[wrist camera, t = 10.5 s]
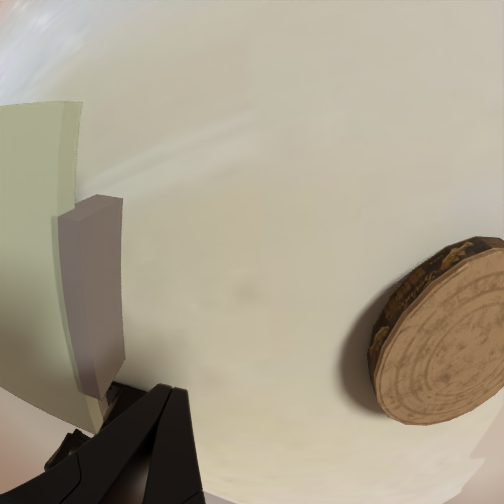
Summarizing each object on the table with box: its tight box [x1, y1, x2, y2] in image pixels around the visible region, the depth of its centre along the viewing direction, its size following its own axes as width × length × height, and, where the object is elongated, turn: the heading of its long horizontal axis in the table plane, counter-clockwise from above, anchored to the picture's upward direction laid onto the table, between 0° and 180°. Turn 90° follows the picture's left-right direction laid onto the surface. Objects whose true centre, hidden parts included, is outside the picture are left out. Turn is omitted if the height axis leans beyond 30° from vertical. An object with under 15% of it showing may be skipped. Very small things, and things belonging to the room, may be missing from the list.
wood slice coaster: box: [367, 236, 504, 426], centre depth 18 cm, size 16×16×3 cm
